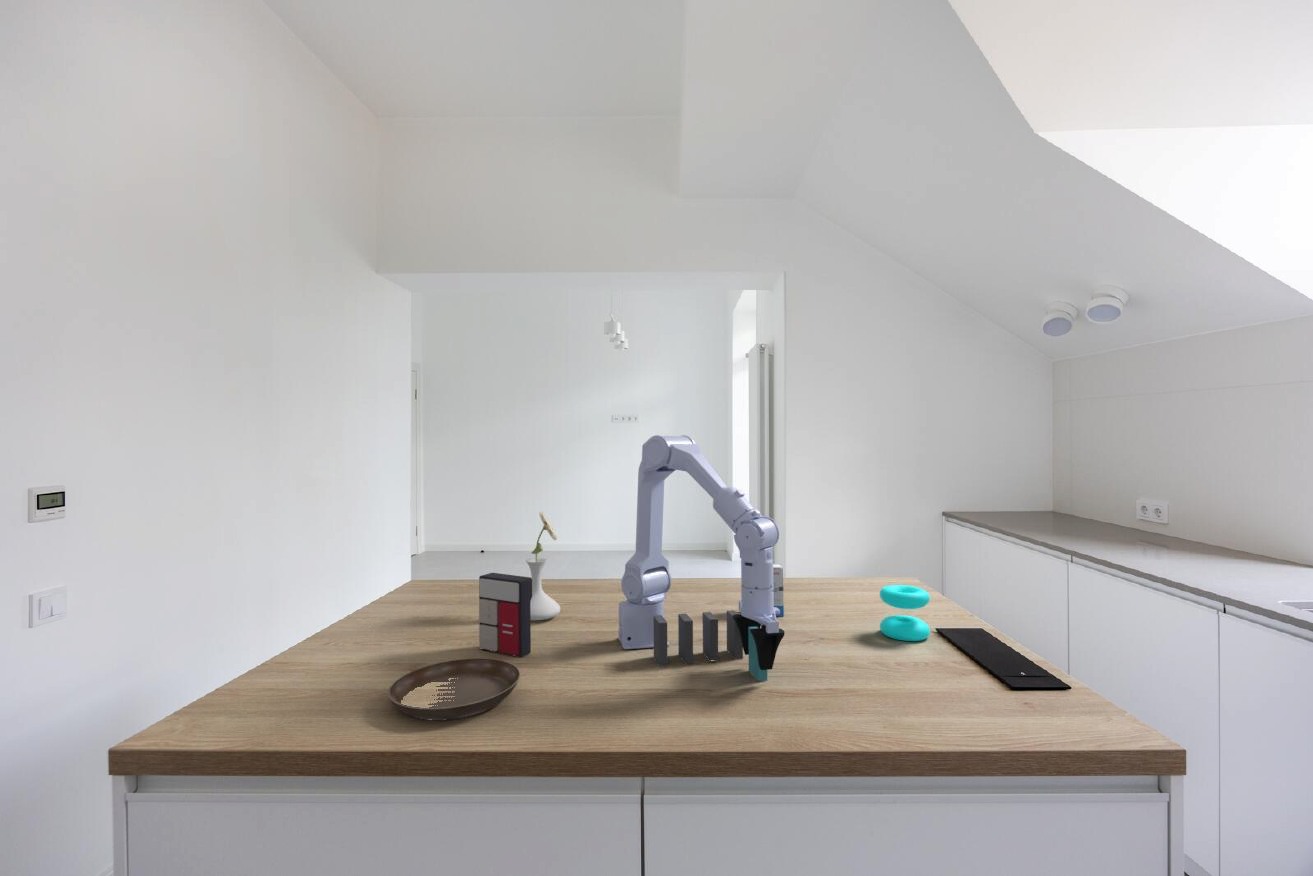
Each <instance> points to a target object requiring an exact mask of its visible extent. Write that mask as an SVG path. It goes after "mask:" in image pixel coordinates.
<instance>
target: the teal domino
mask: <svg viewBox="0 0 1313 876" xmlns="http://www.w3.org/2000/svg"><path fill="white" fill-rule="evenodd" d="M756 628H758V627H757V626H756V627H748V646H749V655H748V671H750V672H749V673H750V674H751V673H752V674H753V675H752V674H751V675H752V676H753V677H754V678H755V680H757V681H758V682H765V681H768V670H761V669H760V667H759V663H758V656H757V649H756V644H755V641H754V638H753V636H752V634H751V632H750V629H756Z"/></svg>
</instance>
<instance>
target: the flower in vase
mask: <svg viewBox="0 0 1313 876" xmlns="http://www.w3.org/2000/svg"><path fill="white" fill-rule="evenodd" d="M538 513H539V516H540V519H541V522H542V523H543V524H542V525H543V527H542V529H541V531H540V533H539V535H538V537H537V541H536V546H535V548H534V549H533V551H531V554H533V555H535V557H534V558H533V557H532V558H527V559H525V562H526V564H527V566H529V570H530V575H531V578H532V598H531V601H530V614H531V621H543V620H548V619H551V618H553V617H556V616H557V615H559V613H560V612H561V606H560V604H559V603H558V602H556V601H555V600H554V599H553V598H552V597H550V596H549V595H547V593H545V591H544V590H543V587H542V577H543V576H542V574H543V573H542V572H543V568H544V566H545V564H546V562H547V561H548V559H547V558H544V557H543V558H542V557H538V554H539V553H543V551H544V548H543V546H542V543H540V542H539V541H540V539H541V536H542V534H543V532H544V530H545V531H547V533H548V535H549V536H550V537H551V539H552V540H553V541H557V540H558V537H557V535H556V533H555V532H554V531H553V527H552V526H551V525H550V524H549V520H548V519H547V517H545V515H544V512H543V511H542V512H541V511H539V512H538Z"/></svg>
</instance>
